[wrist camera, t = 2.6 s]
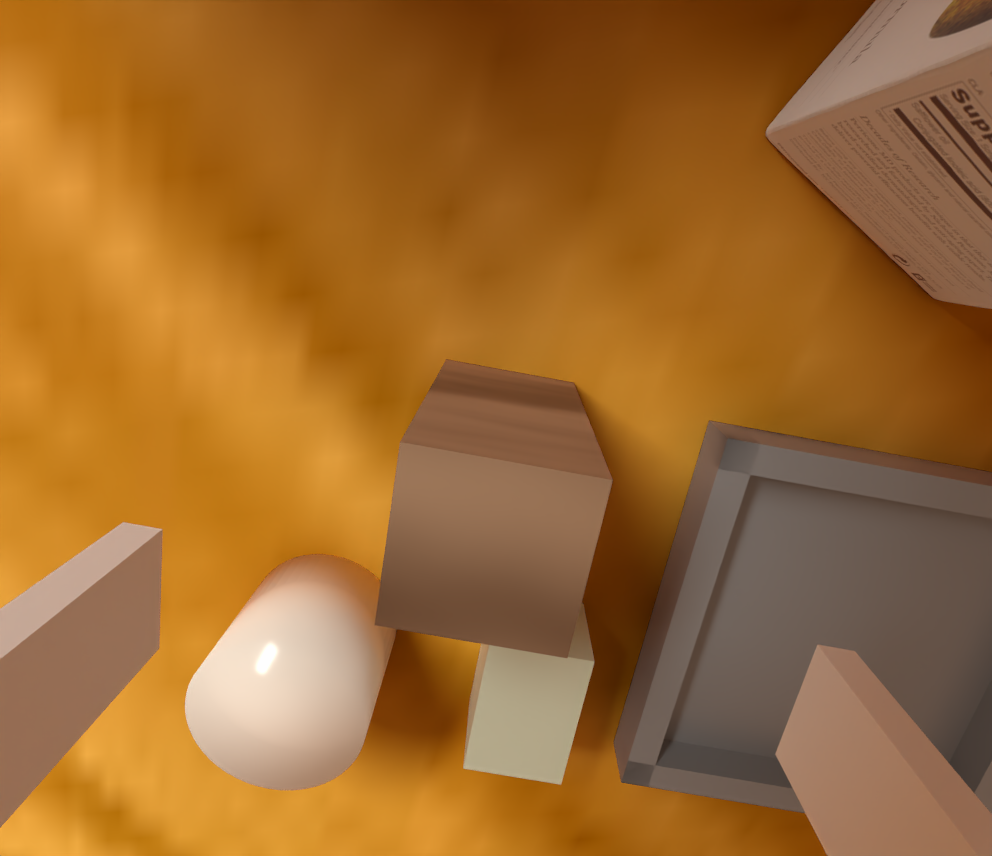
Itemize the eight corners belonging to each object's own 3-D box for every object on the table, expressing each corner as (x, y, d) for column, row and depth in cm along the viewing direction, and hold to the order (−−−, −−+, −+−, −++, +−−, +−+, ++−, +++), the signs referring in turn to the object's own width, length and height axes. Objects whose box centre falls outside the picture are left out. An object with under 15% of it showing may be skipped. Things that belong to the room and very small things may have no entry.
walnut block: (446, 359, 24) (400, 441, 14) (574, 382, 24) (612, 480, 14) (427, 478, 25) (374, 625, 16) (547, 499, 25) (567, 658, 16)
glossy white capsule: (258, 542, 26) (187, 626, 21) (406, 567, 27) (376, 659, 21) (249, 665, 28) (182, 774, 23) (387, 688, 28) (355, 803, 23)
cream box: (493, 585, 27) (489, 643, 23) (583, 601, 27) (594, 661, 23) (470, 697, 29) (463, 768, 25) (554, 711, 29) (561, 784, 25)
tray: (709, 420, 24) (727, 438, 22) (1102, 492, 24) (1157, 516, 22) (613, 742, 29) (621, 782, 27) (943, 798, 29) (976, 841, 27)
